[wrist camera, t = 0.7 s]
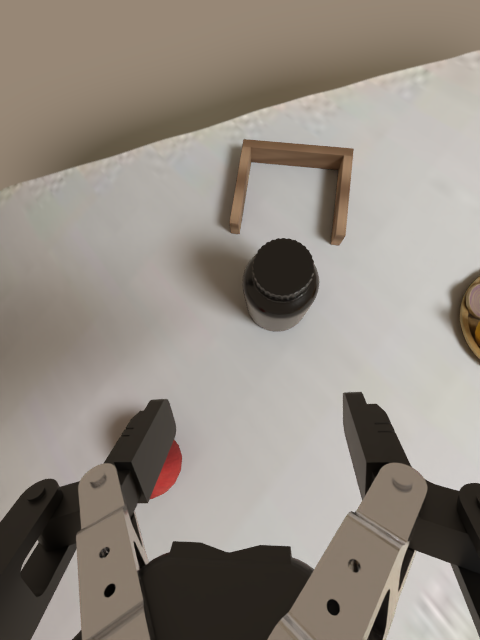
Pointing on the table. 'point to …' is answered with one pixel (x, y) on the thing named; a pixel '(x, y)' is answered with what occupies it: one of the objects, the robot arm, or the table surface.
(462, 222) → the table surface
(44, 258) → the table surface
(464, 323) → the toy sandwich meal
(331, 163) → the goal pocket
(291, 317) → the supplement bottle
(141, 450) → the robot arm
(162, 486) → the onion
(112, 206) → the table surface
